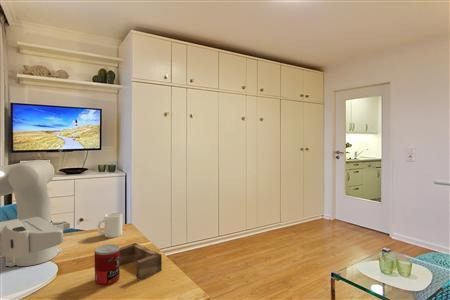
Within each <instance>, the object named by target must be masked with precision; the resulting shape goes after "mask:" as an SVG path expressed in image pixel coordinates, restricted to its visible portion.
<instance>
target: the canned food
mask: <svg viewBox="0 0 450 300" xmlns="http://www.w3.org/2000/svg"><path fill="white" fill-rule="evenodd" d="M119 248H120V246H119V244H114V243H113V244H111V243H110V244H109V243H106V244H103V245H99V246H97V247H96V248H95V249H94V282H95V284H96V285H97V286H100V287H101V286H102V287H103V286H107V287H108V286H110V285H111V286H112V285H113V284H116V283H117V282H118V281H119V280H120V276H121V273H120V272H121V269H120V249H119Z"/></svg>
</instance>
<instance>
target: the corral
mask: <svg viewBox="0 0 450 300" xmlns="http://www.w3.org/2000/svg"><path fill="white" fill-rule="evenodd" d="M119 249H120V266H123V265H126V264H129V263H132V262H135V263H136V279H137V280H139V281H141V280H144V279H146V278H149V277H151V276H153V275H155V274H157V273H159V272H162V271H163V270H162V269H163V268H162V263H163V260H162V253H159V252H157V251H155V250H152V249H149V248H147V247H145V246H142V245H140V244H138V243H135V242H134V243H131V244H128V245H125V246H122V247H119Z"/></svg>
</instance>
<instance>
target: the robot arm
mask: <svg viewBox="0 0 450 300" xmlns="http://www.w3.org/2000/svg"><path fill="white" fill-rule="evenodd" d="M54 177H55V167H54V166H53V164H52V163H50V162H49V161H46V160H43V159H33V160H28V161H22V162H19V163H12V164H8V165H3V166H0V197H2V196H7V195H10V194H13V196H14V199H15V203H16V214H17V215H16V217H17V218H16V219H9V220H4V221H0V258H4V259H5V260H4V262H5V261H6V264H5V267H6V266H9V267H15V266H14V265H17V266H16V267H26V266H27V267H28V266H34V265H40V264H43V263H46V262H48V261H51V260H52V259H54V258H56V256H57V255H58V254H60V253H61V252H62V251H63V250H62V248H61V247H58V246H59V245H61V244H62V243H64V231H67V230H69V229H70V228H71V223H69V222H67V221H66V220H65V221H57V222H53V220H52V202H51V199H50V196H49V190H48V184H49V183H50V182H51V181H52V180H53V178H54Z"/></svg>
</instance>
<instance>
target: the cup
mask: <svg viewBox="0 0 450 300" xmlns="http://www.w3.org/2000/svg"><path fill="white" fill-rule="evenodd" d="M103 218H104V219H101V220H99V221H98V224H97V232H98V234H99V235H102V236H105V237H106V238H108V239H109V238H111V239H113V238H119V237H120V236H121V237H122V234H123V213H121V212H110V213H106V214H105V215H104V217H103ZM102 223H104V227H103V228H104V229H103V230H104V231H102V230H101V225H102Z"/></svg>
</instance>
